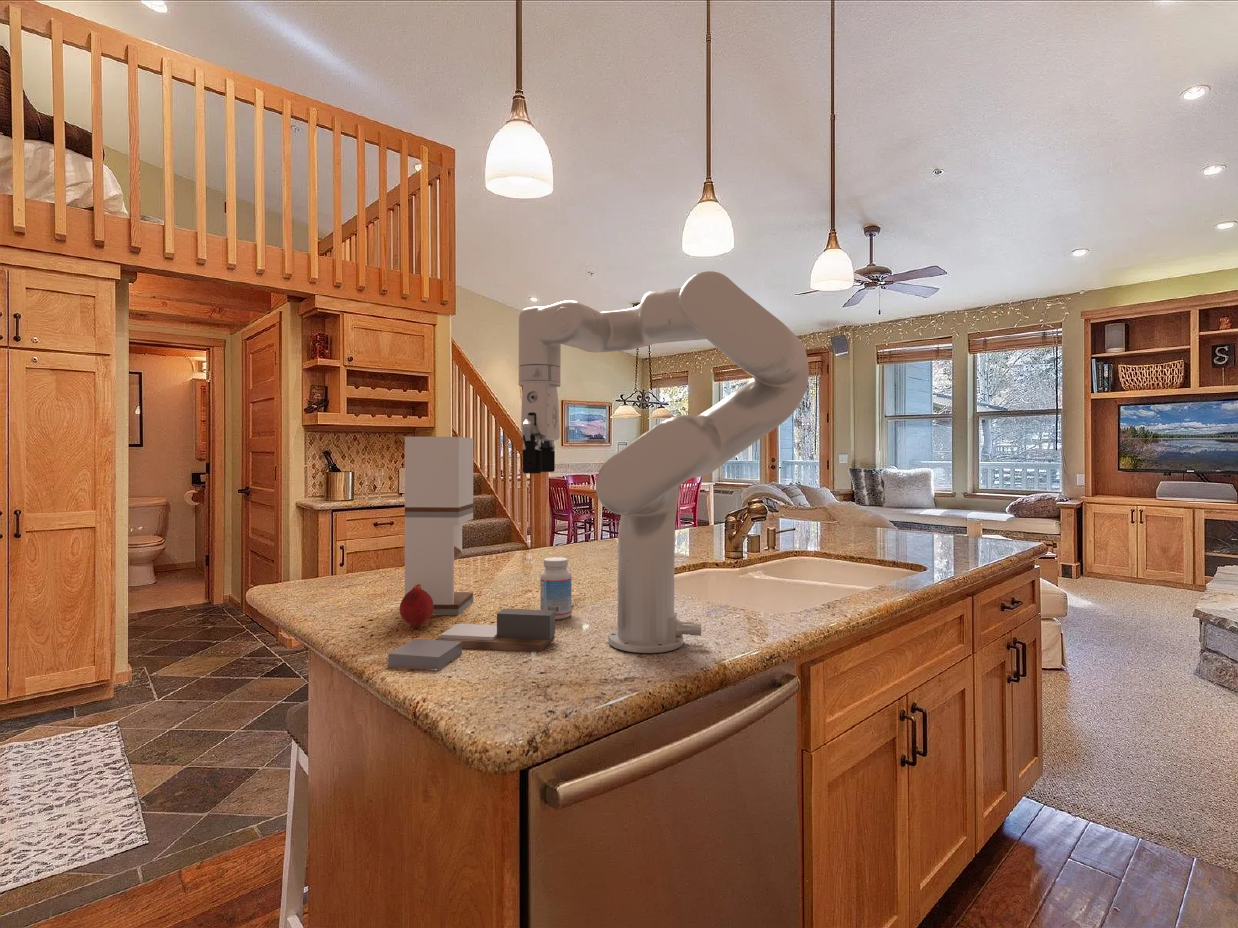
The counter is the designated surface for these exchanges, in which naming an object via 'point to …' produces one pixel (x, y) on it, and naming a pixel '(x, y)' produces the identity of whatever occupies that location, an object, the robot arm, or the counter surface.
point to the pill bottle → (556, 587)
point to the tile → (425, 654)
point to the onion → (416, 606)
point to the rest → (504, 644)
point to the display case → (437, 516)
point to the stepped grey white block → (509, 626)
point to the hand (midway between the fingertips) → (539, 472)
